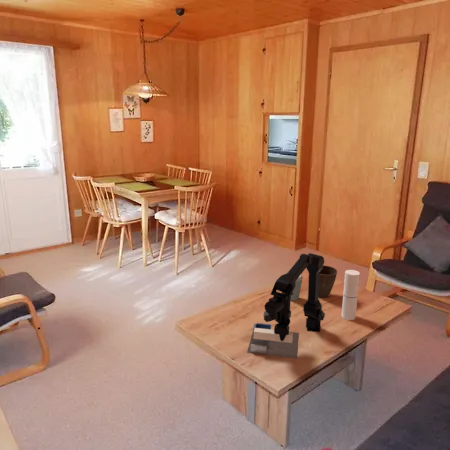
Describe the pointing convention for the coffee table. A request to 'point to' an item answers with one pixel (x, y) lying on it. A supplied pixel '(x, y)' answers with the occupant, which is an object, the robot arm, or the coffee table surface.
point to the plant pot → (326, 281)
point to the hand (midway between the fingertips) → (282, 338)
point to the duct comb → (273, 345)
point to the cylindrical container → (350, 294)
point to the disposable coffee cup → (296, 289)
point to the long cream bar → (271, 335)
